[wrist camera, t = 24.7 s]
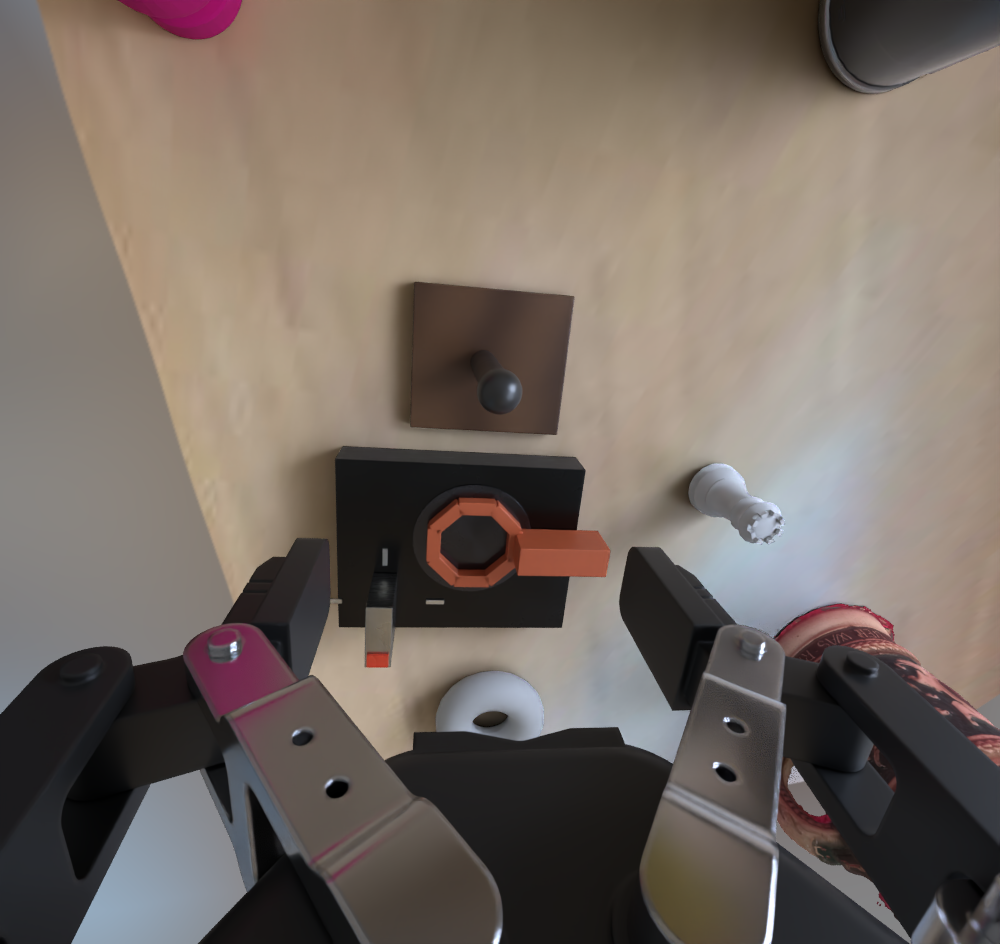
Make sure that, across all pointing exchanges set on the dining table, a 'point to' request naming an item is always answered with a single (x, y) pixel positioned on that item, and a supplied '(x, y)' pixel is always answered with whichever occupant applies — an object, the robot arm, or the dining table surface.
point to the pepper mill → (189, 15)
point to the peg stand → (488, 358)
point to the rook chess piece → (735, 503)
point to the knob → (380, 620)
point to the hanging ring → (518, 548)
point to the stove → (393, 514)
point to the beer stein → (820, 833)
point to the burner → (467, 533)
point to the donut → (492, 706)
